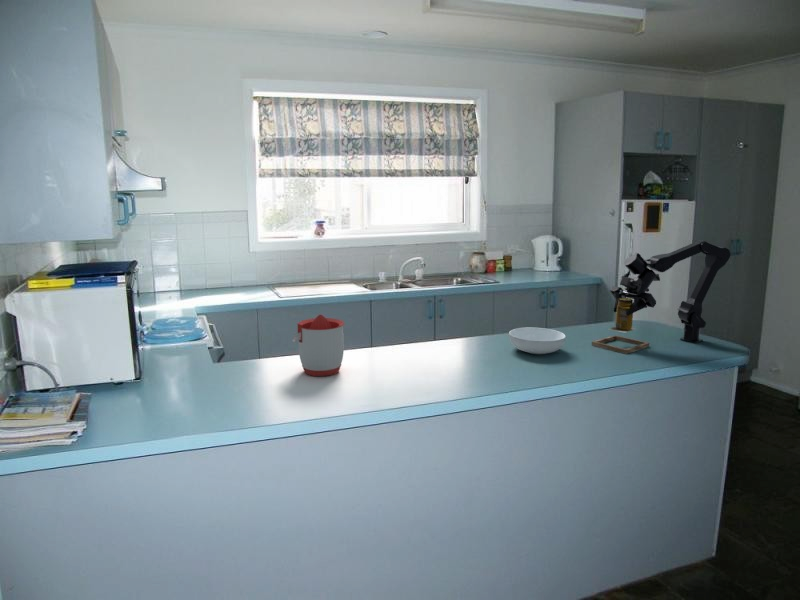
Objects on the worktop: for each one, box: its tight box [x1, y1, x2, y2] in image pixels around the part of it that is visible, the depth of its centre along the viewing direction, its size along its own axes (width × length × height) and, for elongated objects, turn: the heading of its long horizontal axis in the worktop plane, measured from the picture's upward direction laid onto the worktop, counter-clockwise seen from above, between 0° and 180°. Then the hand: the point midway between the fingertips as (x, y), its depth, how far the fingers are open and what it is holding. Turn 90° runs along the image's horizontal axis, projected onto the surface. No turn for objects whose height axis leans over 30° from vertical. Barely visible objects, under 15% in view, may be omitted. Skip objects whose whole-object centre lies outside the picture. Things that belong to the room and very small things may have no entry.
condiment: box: [608, 297, 636, 334], centre depth 236 cm, size 7×8×12 cm
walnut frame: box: [591, 334, 650, 355], centre depth 238 cm, size 16×15×2 cm
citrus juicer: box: [292, 313, 345, 377], centre depth 205 cm, size 16×17×20 cm
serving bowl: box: [508, 326, 567, 355], centre depth 231 cm, size 21×21×7 cm
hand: (620, 313), depth 235 cm, fingers closed on condiment, 6 cm apart
